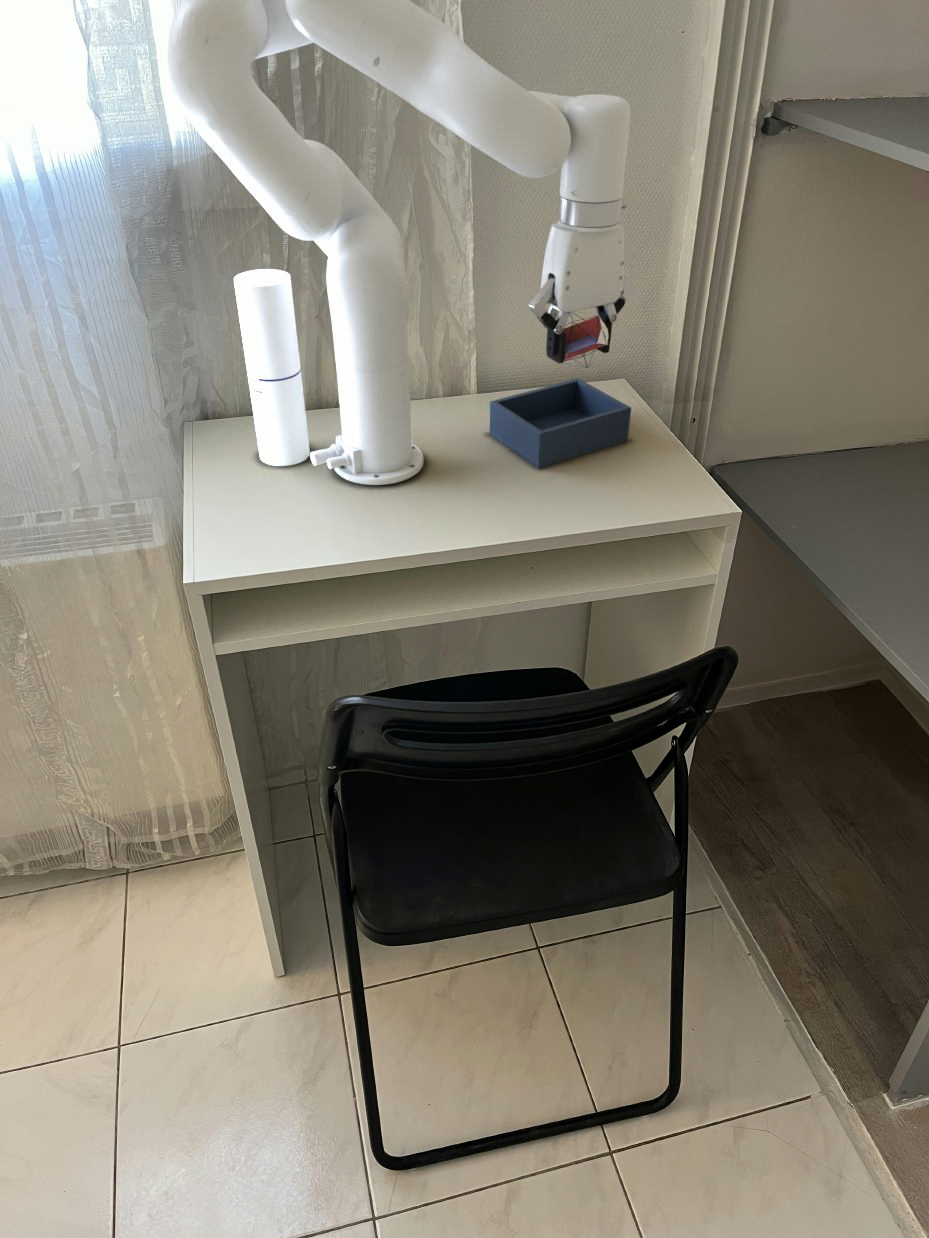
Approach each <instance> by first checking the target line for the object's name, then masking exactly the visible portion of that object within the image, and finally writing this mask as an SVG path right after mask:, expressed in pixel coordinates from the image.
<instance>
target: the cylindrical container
mask: <svg viewBox="0 0 929 1238" xmlns="http://www.w3.org/2000/svg"><path fill="white" fill-rule="evenodd" d="M233 285H234V290H235V291H234V292H235V298H236V305H237V311H238V318H239V324H240V332H241V338H242V344H243V352H244V359H245V366H246V372H247V380H248V386H249V393H250V399H251V405H252V413H253V419H254V426H255V427H254V428H255V433H256V440H257V449H258V454H259V459H260V460H261V461H262V462H263V463H265V464H266V465H269V466H275V467H288V466H294V465H297V464H300V463H302V462H305V461H306V460H307V459H308V458H309V457H310V453H311V450H310V441H309V431H308V423H307V422H308V421H307V414H306V406H305V404H306V403H305V396H304V395H305V394H304V386H303V378H302V369H301V359H300V350H299V340H298V333H297V324H296V323H297V322H296V314H295V306H294V297H293V287H292V280H291V274H290V273H289V272H287V271H286V270H285V271H284V270H281V269H274V268H259V269H251V270H247V271H243V272H241V273H238V274H235V276H234V277H233Z"/></svg>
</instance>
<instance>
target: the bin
mask: <svg viewBox="0 0 929 1238" xmlns="http://www.w3.org/2000/svg"><path fill="white" fill-rule="evenodd" d="M631 414H632V407H631V406H629V405H627V404H626V403H624V402H622V401H620V400H618V399H616V398H615V397H613V396H611V395H609V394H608V393H606V392H604V391H603V390H600V389H599V388H596V387H595V386H593V385H592V384H589V383H587V382H586V381H584V380H583V379H580V378H574V379H570V380H567V381H563V382H559V383H558V382H557V383H555V384H551V385H547V386H544V387H540V388H536V389H531V390H528V391H523V392H519V393H517V394H513V395H509V396H506V397H501V398H498V399H495V400H490V401H489V435H490V436H491V437H492V438H494V439H495V440H496V441H498V442H499V443H501V444H503V445H504V446H506V447H507V448H508V449H510V450H511V451H513V452H514V453H515V454H517V455H518V456H520V457H521V458H522V459H524V460H526V461H527V462H528V463H530V464H531V465H533V466H534V467H535V468H537V469H541V468H544V467H547V466H551V465H554V464H557V463H561V462H564V461H567V460H570V459H574V458H577V457H580V456H583V455H587V454H591V453H594V452H596V451H599V450H602V449H606V448H610V447H613V446H616V445H619V444H622V443H625V442H629V441H628V440H629V430H630V422H631Z"/></svg>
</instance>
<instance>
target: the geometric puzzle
mask: <svg viewBox="0 0 929 1238" xmlns="http://www.w3.org/2000/svg"><path fill="white" fill-rule="evenodd" d="M575 312H576V313H577V312H578V310H577V311H575ZM575 312H574V311H571V312H570V318H571V321H570V322H569V323H566V324H565V326H564V329H563V331H562V332H564V333H566V347H565V352H564V353H565V360H564V365H565V364H566V365H567V363H565V362H567V361H571V360H573V361H574V362H577V363H578V364H580V365H581V366H582V367H583V368H585V369H587V370H588V369H589V367H590V365H592V364H593V363H594V361H592V362H591V360H592V358H593V356H594V353H595V352H596V351H599V350H598V349H597V348H599V349H600V347H601V348H602V347H604V346H606V345H608V337H609V336H608V329H607V327H606V326H605V324H604V323H603V321H602V320H601V318H600V316H599V315H598V314H597V315H594V314H592V313H591V315H592V316H591V317H585V318H582V317H581V316H580V315H578V314H576V313H575ZM572 314H574V315H575V316H577V318H578V317H579V318H580V321H581V322H580V321H579V319H577V320H573V316H572ZM580 314H583V312H581V311H580ZM586 314H587V315H588V313H587V312H586V313H585V315H586ZM578 321H579V322H578ZM576 322H577V323H576ZM569 324H571V325H570V326H568V325H569ZM566 326H567V327H566ZM603 350H604V349H603ZM603 350H602V351H603ZM589 352H590V353H589ZM586 353H587V354H586ZM591 354H592V355H591ZM580 355H581V356H580ZM588 355H591V356H590V360H589V362H588V363H587V360H586V356H588ZM598 356H599V355H597V356H596V358H597V357H598ZM579 358H583V359H584V362H585V365H584V364H583V363H580V361H577V360H576V359H579ZM568 365H571V364H570V363H568ZM580 365H578V367H581V366H580ZM574 366H575V367H576V365H574V364H573V367H574Z"/></svg>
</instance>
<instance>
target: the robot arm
mask: <svg viewBox="0 0 929 1238" xmlns="http://www.w3.org/2000/svg"><path fill="white" fill-rule="evenodd" d="M168 36H169V37H168V44H167V67H168V73H169V78H170V82H171V84H172V89H173V92H174V95H175V97H176V99H177V101H178V104H179V106H180V107H181V109H182V111H183V113H184V114H185V116H186V118H187V120H188V121H189V122H190V124H191V125H192V127H194V129H195V130H196V132H197V133H198V134H199V135H200V136H201V137H202V139H203V140H204V141H205V142H206V144H208V145H209V147H211V149H212V151H214V152H215V153H216V155H217V156H218V157H219V159H221V160H222V161H223V163H224V164H225V165H226V166H227V167H228V168H229V170H230V171H231V172H232V173H233V175H234V176H235V177H236V178H237V180H238V181H239V182H240V183H241V184H242V185H243V186H244V187H245V188H246V189H247V191H248V192H249V194H251V195H252V196H253V198H255V200H256V201H257V202H258V203H259V204H260V206H261V207H262V208H263V209H264V210H265V211H266V212H267V214H268V215H269V216H270V217H271V218H272V220H273V221H274V222H275V224H277V225H278V227H279V228H281V230H282V231H283V232H285V233H286V234H288V235H289V236H290V237H293V238H295V239H297V240H301V241H305V242H306V241H307V242H311V241H313V242H314V243H315V244H316V245H317V246H318V247H319V248H320V250H321V251H322V252H323V253H324V255H326V256H327V257H328V258H327V263H326V288H327V290H326V291H327V298H328V299H327V300H328V305H329V312H330V321H331V328H332V338H333V350H334V359H335V360H334V361H335V369H336V380H337V391H338V392H337V393H338V404H339V414H340V415H339V416H340V425H341V434H339V435H335V443H333V444H331V445H330V447H328V448H327V447H326V448H321V449H317V450H313V451H310V455H309V457H310V461H311V464H312V465H313V466H315V467H317V466H320V465H323V464H326V466H327V467H328V469H329V470H332V469H333V470H334V471H335V472H336V474H337V475H339V476H340V477H341V478H342V479H344V480H345V481H349V482H352V483H354V484H360V485H365V486H366V485H367V486H383V485H392V484H398V483H400V482H403V481H406V480H408V479H410V478H412V477H415V475H417V474H418V473H419V472H420V471H421V469H422V468H423V466H424V454H423V451H422V450H421V448H419V447H418V446H417V445H415V444H414V443H413V441H412V418H411V417H412V415H411V394H410V393H411V391H410V390H411V389H410V388H411V387H410V367H409V366H410V365H409V347H408V324H407V323H408V322H407V319H408V318H407V275H406V274H407V272H406V259H405V250H404V244H403V239H402V236H401V234H400V231H399V230H398V227H397V226H396V225H395V223H394V222H393V221H392V219H391V218H390V217H389V215H388V214H387V213H386V212H385V210H384V209H383V207H381V205H380V204H379V202H377V201H376V199H375V197H373V196H372V194H371V193H370V192H369V191H368V190H367V188H366V187H365V186H364V185H363V184H362V182H361V181H360V180H359V178H358V177H357V176H356V175H355V174H354V173H353V171H352V170H351V169H350V168H349V167H348V165H347V164H346V163H345V162H344V160H343V159H342V158H341V157H340V156H339V155H338V154H337V153H336V152H335V151H334V150H333V149H332V148H330V147H328V146H327V145H325V144H323V143H322V142H319V141H316V140H311V139H303V137H301V135H300V133H298V132H297V131H296V130H295V128H294V127H293V126H292V125H291V123H289V121H288V119H287V118H286V117H285V115H284V114H283V113H282V111H281V110H280V109H279V108H278V107H277V106H276V105H275V103H274V102H273V101H271V99H270V98H269V97H268V96H267V95H266V94H265V93H264V92H263V91H262V90H261V88H260V87H259V85H258V84H257V82H256V81H255V79H254V76H253V73H252V64H253V62H254V61H255V60H259V59H260V58H263V57H268V56H272V55H275V54H278V53H284V52H286V51H287V52H288V51H290V50H295V49H297V48H301V47H304V46H307V45H311V44H315V45H316V46H319V47H320V48H322V49H323V50H325V51H327V52H328V53H330V54H331V55H333V56H335V57H336V58H338V59H339V60H340V61H342V62H344V63H346V64H347V65H350V66H351V67H352V68H354V69H356V70H357V71H358V72H361V74H364V75H365V76H366V77H368V78H370V79H372V81H373V80H374V81H375V82H376V83H378V84H379V85H381V86H382V87H383V88H386V89H387V90H389V91H390V92H392V93H394V94H395V95H396V96H397V97H399V98H401V99H403V100H404V101H406V102H407V103H408V104H409V105H411V106H413V107H414V108H415V109H416V110H418V112H421V113H423V114H424V115H426V116H427V117H428V118H431V119H432V120H434V121H436V122H437V123H439V124H441V125H442V126H443V127H445V128H446V129H448V130H449V131H451V132H452V133H453V134H454V135H456V136H457V137H459V138H461V139H462V140H464V141H465V142H466V143H468V144H470V145H471V146H473V147H474V148H476V149H478V151H480V152H482V153H483V154H485V155H487V156H488V157H490V158H491V159H493V160H495V161H496V162H497V163H500V164H501V165H503V166H504V167H506V168H508V169H509V170H511V171H512V172H515V173H517V174H518V175H520V176H522V177H526V178H529V179H542V178H546V177H549V176H551V175H552V174H554V173H556V172H557V171H558V170H559V169H560V168H561V169H560V181H559V182H560V183H559V197H558V198H559V199H558V200H559V201H558V215H557V216H558V217H557V222H554V223H552V224H551V227H550V230H549V234H548V238H547V241H546V247H545V252H544V259H543V263H542V264H543V265H542V272H541V282H540V289H539V290H538V292H537V293H536V294H535V295H534V296H533V298H532V299H531V300H530V301H529V303H528V309H530V311H531V312H532V314H533V315H534V316H536V318H537V320H539V322H540V323H541V324H542V325H543V327H544V328H545V329H546V344H545V345H546V347H545V352H546V357H547V358H548V359H550V360H551V361H553V362H555V363H557V364H558V365H559V364H564V363H565V361H564V360H565V353H564V352H565V347H566V333H564V332H562V331H563V329H564V328H565V327H566V326H565V325H567V322H568V319H569V317H570V316H571V314H570V312H571V311H572V312H576V311H577V312H578V311H582V310H587V309H592V308H595V310H596V314H597V315H599V316H600V318H601V320H602V321H603V323H604V324H605V326H606V327H607V329H608V336H609V337H608V345H606V346H604V347H602V348H601V347H600V349H599V348H597V349H598V350H597V349H596V350H597V351H599V352H601V353H603V354H609V352H610V349H611V348H610V346H611V345H610V344H611V339H612V330H613V329H612V327H613V324H614V323H615V322H616V321H617V320H618V315H619V313H620V312H621V311H622V309H623V308H624V306H625V304H626V301H628V300H629V298H630V296H631V295H632V294H633V293H634V291H635V286H634V284H633V283H631V281H630V280H629V279H628V278H627V277H626V276H625V258H626V257H625V254H626V253H625V251H626V250H625V232H624V230H625V229H624V223H623V222H622V221H621V216H622V210H623V209H626V208H627V206H628V199H627V198H626V197H625V196H623V194H624V187H625V175H626V166H627V164H626V163H627V155H628V146H629V136H630V135H629V134H630V127H631V115H632V114H631V112H632V111H631V106H630V104H629V102H628V101H627V99H625V98H622V97H621V96H618V95H611V94H602V93H601V94H600V93H599V94H597V93H594V94H593V93H592V94H581V95H578V96H577V95H576V96H569V95H561V94H553V93H549V92H548V93H547V92H542V91H534V90H527V89H526V88H524V87H523V86H522V85H520V84H518V83H517V82H516V81H514V80H513V79H511V78H510V77H508V76H507V75H505V74H503V72H501V71H500V70H498V69H497V68H495V67H494V66H492V65H491V64H490V63H489V62H487V61H486V60H485V59H484V58H482V57H481V56H480V55H478V54H477V53H476V52H475V51H474V50H472V48H470V47H469V45H467V43H466V42H464V41H463V39H462V38H461V37H460V36H459V35H458V34H457V33H456V32H455V31H454V30H453V29H451V28H450V27H449V26H448V25H446V24H445V22H443V21H442V20H440V19H438V17H435V16H434V15H432V14H431V13H429V12H427V11H426V10H424V9H423V8H421V7H420V6H419V5H417V4H415V3H414V2H412V1H411V0H180V2H179V4H178V6H177V7H176V10H175V12H174V15H173V18H172V22H171V26H170V30H169V35H168ZM547 304H548V305H550V306H549V308H548V310H547V309H546V306H547ZM572 312H571V313H572ZM564 326H565V327H564ZM603 349H604V350H603ZM602 350H603V351H602Z"/></svg>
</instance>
